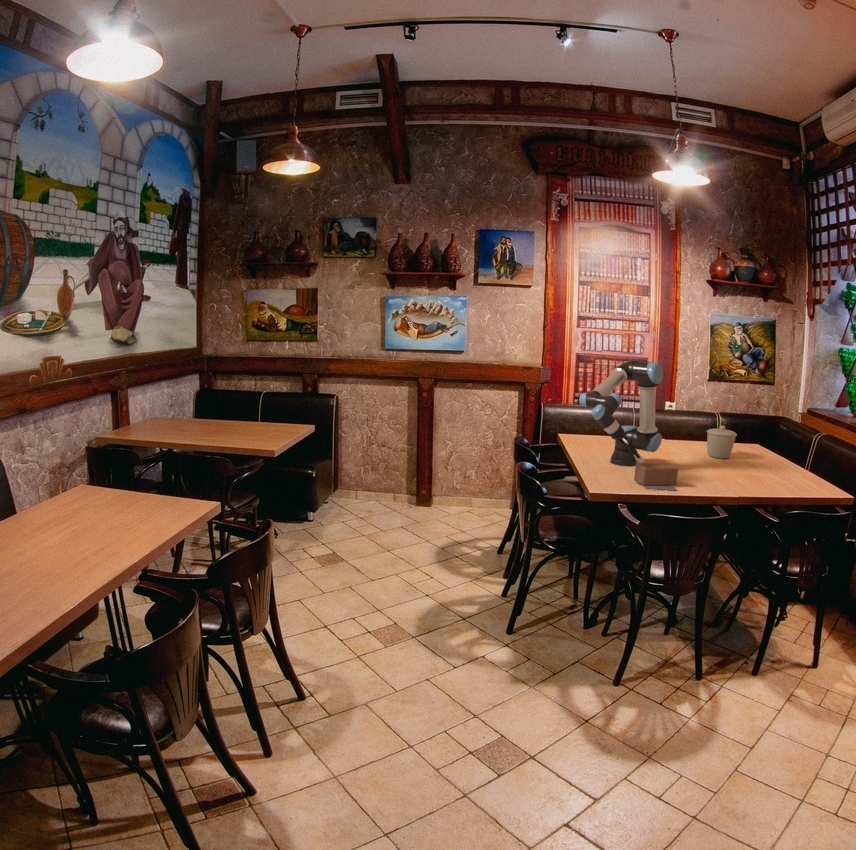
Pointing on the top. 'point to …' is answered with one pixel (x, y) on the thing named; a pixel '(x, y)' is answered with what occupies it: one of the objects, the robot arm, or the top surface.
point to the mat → (660, 487)
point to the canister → (720, 442)
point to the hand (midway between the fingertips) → (642, 461)
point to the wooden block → (656, 474)
